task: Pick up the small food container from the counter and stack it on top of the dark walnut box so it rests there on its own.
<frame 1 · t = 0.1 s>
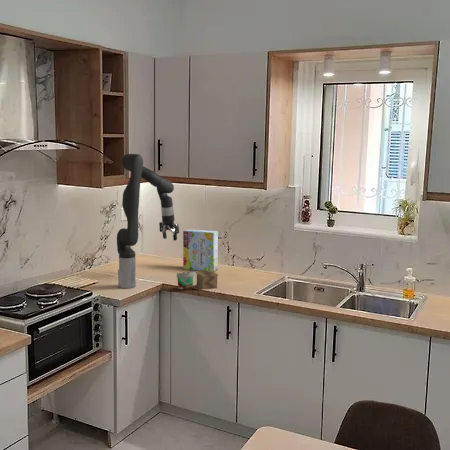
hand: (170, 239, 349), 23 cm above the worktop, tool pointing down, fingers open, 8 cm apart
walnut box: (206, 286, 326), on the worktop
food container: (187, 289, 320), on the worktop
snack box: (200, 269, 369), on the worktop
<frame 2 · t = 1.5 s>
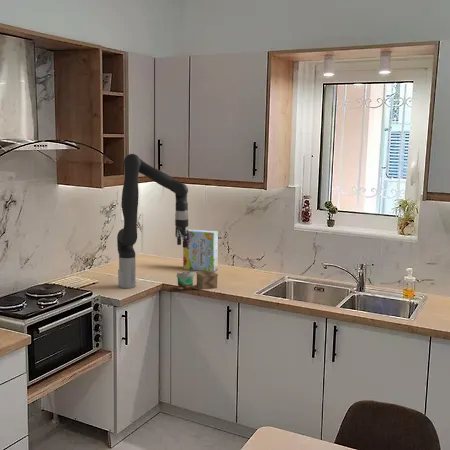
hand: (181, 246, 327), 23 cm above the worktop, tool pointing down, fingers open, 8 cm apart
nothing on the worktop moved.
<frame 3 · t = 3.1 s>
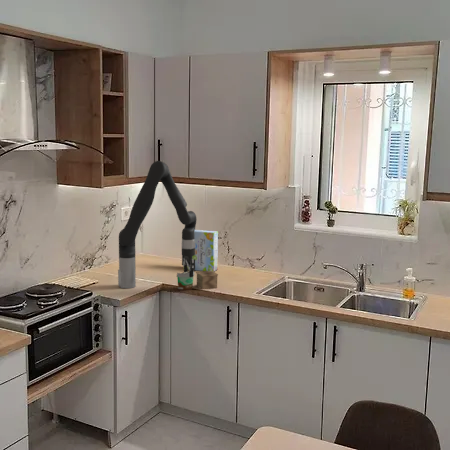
hand: (188, 275, 319), 8 cm above the worktop, tool pointing down, fingers open, 8 cm apart
food container: (187, 289, 320), on the worktop, touching gripper
everything else where it was.
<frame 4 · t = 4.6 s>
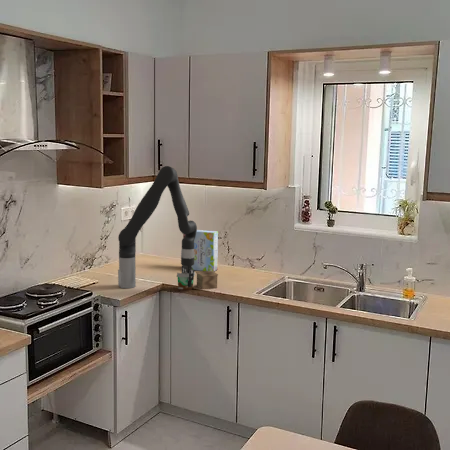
hand: (187, 285, 320), 2 cm above the worktop, tool pointing down, fingers closed on food container, 6 cm apart
food container: (188, 289, 320), on the worktop, touching gripper
everything else where it was.
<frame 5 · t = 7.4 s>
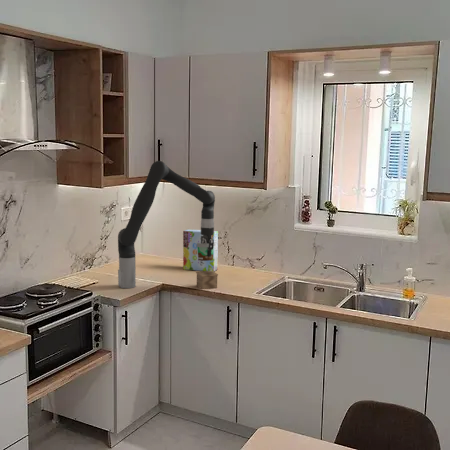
hand: (207, 255, 323), 18 cm above the worktop, tool pointing down, fingers closed on food container, 6 cm apart
food container: (208, 260, 323), point 16 cm above the worktop, touching gripper
everything else where it was.
when the fingers open (11 cm above the worktop, at t = 9.4 s): food container stays where it is, resting on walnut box.
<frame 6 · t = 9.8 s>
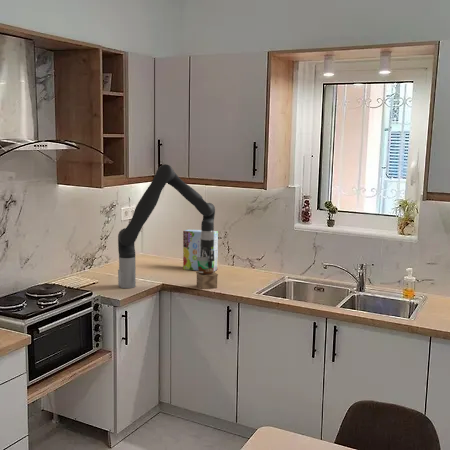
hand: (207, 266, 324), 12 cm above the worktop, tool pointing down, fingers open, 8 cm apart
food container: (208, 273, 324), point 8 cm above the worktop, touching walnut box
everything else where it was.
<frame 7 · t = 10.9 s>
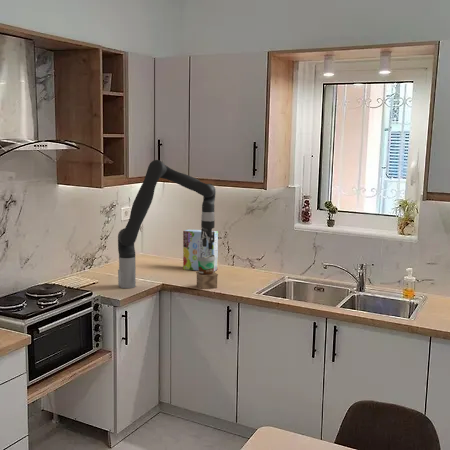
hand: (207, 247, 322), 23 cm above the worktop, tool pointing down, fingers open, 8 cm apart
nothing on the worktop moved.
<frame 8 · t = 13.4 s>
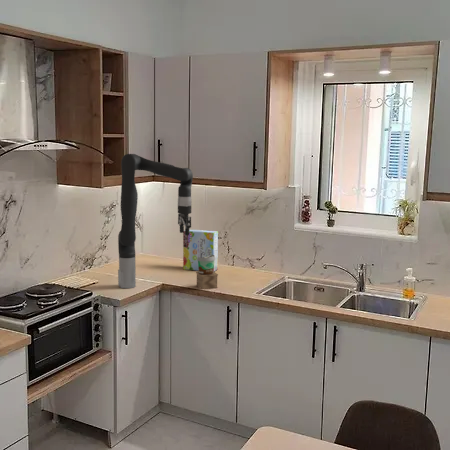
hand: (184, 233, 312), 32 cm above the worktop, tool pointing down, fingers open, 8 cm apart
nothing on the worktop moved.
at the end: food container inside the target area on the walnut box (1.4 cm from its centre), point 7.8 cm above the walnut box's base; food container tilted 0°; the gripper is holding nothing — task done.
